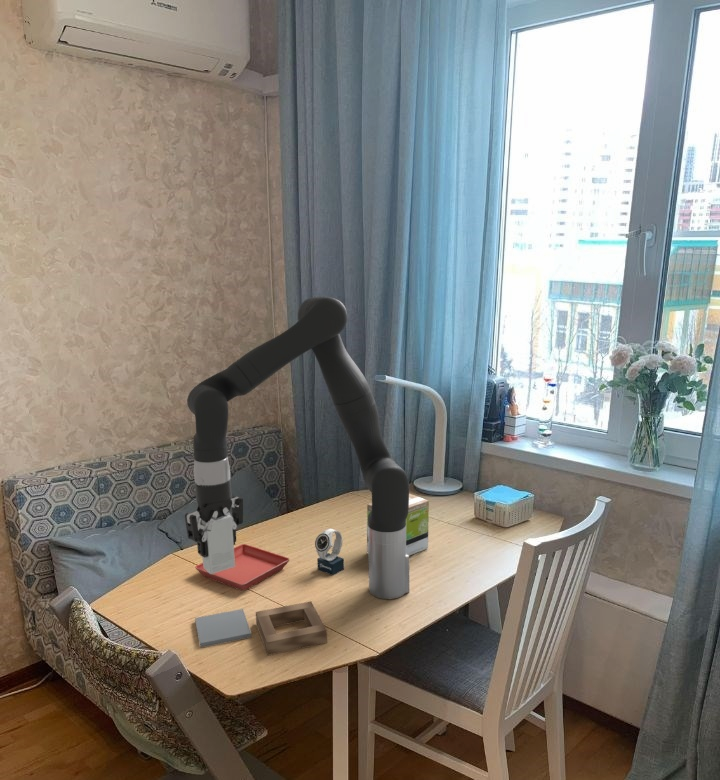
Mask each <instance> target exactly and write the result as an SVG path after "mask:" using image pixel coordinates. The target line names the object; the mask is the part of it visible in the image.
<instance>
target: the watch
mask: <svg viewBox="0 0 720 780" xmlns="http://www.w3.org/2000/svg"><path fill="white" fill-rule="evenodd" d="M334 534H335V539H334V542H333V535H334ZM343 541H344V540H343V535H342V533H341V532H340V531H339V530H336V529H333V528H327V529H325V530H323V531H322V532H321V533H319V534H318V535H317V537H316V538H315V541H314V547H315V549H316V553H317V555H318V558H317V562H316V563H317V570H318V571H321V572H323V573H326V574H329V575H331V576H335V575H336V574H338V573H340V572H342V571H344V570H345V560H344V559H345V558H343V557H341V556H338V555H340V553H341V550H342V546H343ZM329 550H331V553H329Z"/></svg>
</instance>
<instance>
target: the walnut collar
mask: <svg viewBox="0 0 720 780" xmlns="http://www.w3.org/2000/svg"><path fill="white" fill-rule="evenodd" d="M303 621H304V623H305V625H306V627H303V628H299V629H298V628H297V629H292V630H289V631H283V632H278V633H277V631H276V630H275V628H274V627H278V626H283V625H287V624H288V625H289V624H293V623H299V622H303ZM255 624H256V627H257V629H258V632H259V633H258V634H259V635H260V638H261V640H262V643H263V647H264V650H265V651H266V654H267V656H270V655H274V654H275V655H276V654H279V653H284V652H290V651H294V650H300V649H304V648H309V647H312V646H318V645H323V644H327V643H328V629H327V628H326V626H325V623H324V622H323V620H322V619H321V616H320V615H319V613H318V611H317V609H316V607H315V606H314V604H313V602H312V601H306V602H305V601H304V602H299V603H296V604H290V605H285V606H280V607H279V606H278V607H275V608H270V609H264V610H259V611H255ZM273 626H274V627H273Z"/></svg>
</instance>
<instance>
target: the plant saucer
mask: <svg viewBox="0 0 720 780" xmlns="http://www.w3.org/2000/svg"><path fill="white" fill-rule="evenodd" d="M234 556H235V567H232V568H229V569H226V570H223V571H220V572H217V573H213V574H210V573H208V572H207V571H206V570H205V569H204V567H203V562H202V563H200V564H197V565H195V570H196V571H197V572H198V573H199V574H201V575H203V577H205V578H207V579H209V580H210V579H211V580H212V581H213V580H214V581H215V580H216V581H215V582H219V583H221V584H223V583H224V585H227V586H229V587H232V588H234V589H236V588H237V590H239V591H242V590H243V591H246V590H247V589H249V587H250V588H251V587H253V586H255V585H257V584H258V582H259V583H261V582H263V581H265V579H268V578H269V577H271V576H273V575H275V574H277V573H278V572H280V571H281V570H283V569H284V568H285V567H286V565H287V564H288V563H289V562H290V560H291V558H290V557H287V556H285V555H281V554H278V553H275V552H271V551H269V550H268V551H267V550H266V549H262V548H258V547H257V546H256V547H255V546H252V545H249V544H246V543H242V544H239V545H237V546H234ZM267 577H268V578H267ZM256 583H257V584H256Z"/></svg>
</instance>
